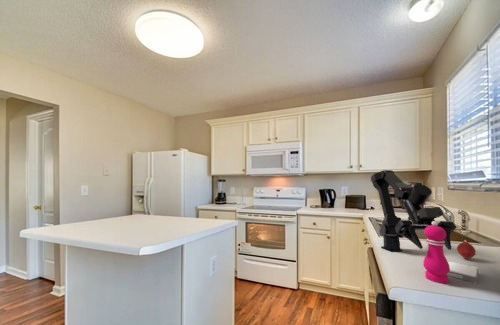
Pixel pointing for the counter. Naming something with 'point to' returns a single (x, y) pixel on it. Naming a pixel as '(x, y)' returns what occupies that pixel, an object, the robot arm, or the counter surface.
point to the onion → (466, 250)
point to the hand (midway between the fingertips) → (435, 248)
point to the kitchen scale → (463, 272)
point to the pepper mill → (436, 254)
